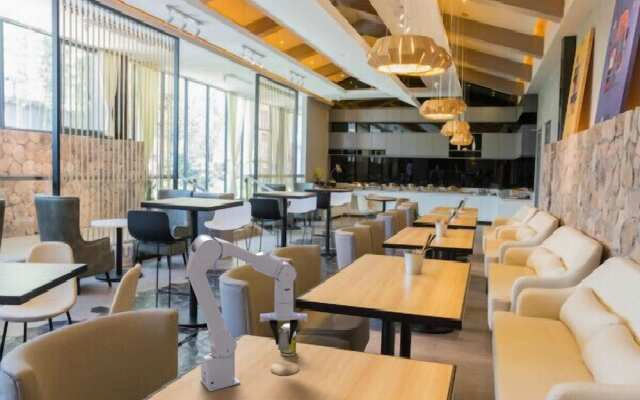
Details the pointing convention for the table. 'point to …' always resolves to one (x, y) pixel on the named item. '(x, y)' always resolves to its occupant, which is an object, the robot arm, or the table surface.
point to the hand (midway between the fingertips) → (283, 343)
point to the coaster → (284, 368)
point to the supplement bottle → (293, 344)
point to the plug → (283, 339)
